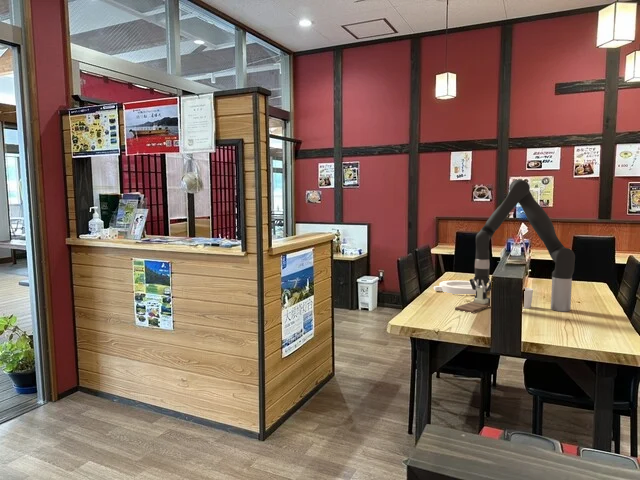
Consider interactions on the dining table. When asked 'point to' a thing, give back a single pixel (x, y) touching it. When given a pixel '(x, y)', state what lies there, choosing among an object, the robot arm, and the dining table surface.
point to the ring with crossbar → (456, 287)
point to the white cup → (528, 297)
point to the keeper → (480, 297)
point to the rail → (473, 306)
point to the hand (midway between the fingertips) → (481, 298)
